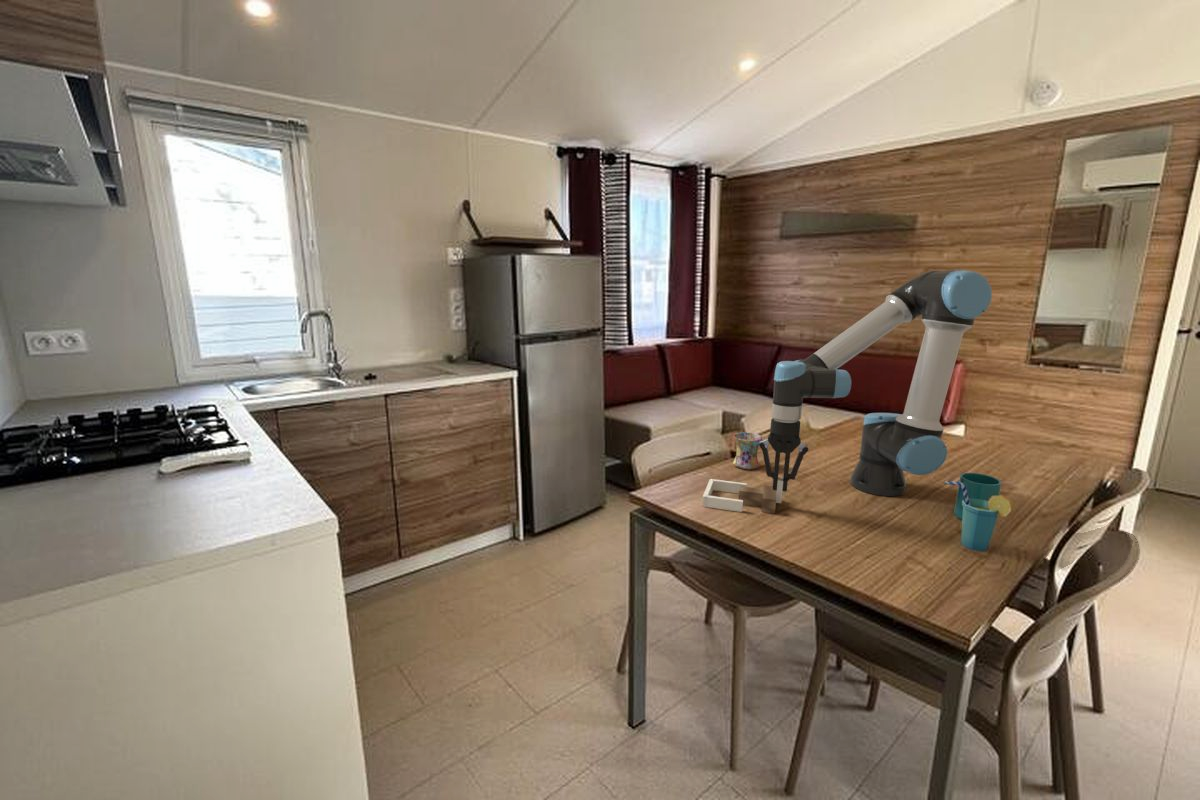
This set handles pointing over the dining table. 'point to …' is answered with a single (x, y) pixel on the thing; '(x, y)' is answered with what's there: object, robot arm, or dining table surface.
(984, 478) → the cup
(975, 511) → the cup
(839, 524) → the dining table surface
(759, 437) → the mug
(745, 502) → the t block
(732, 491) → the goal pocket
